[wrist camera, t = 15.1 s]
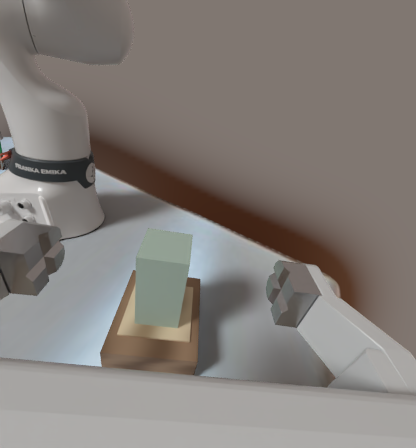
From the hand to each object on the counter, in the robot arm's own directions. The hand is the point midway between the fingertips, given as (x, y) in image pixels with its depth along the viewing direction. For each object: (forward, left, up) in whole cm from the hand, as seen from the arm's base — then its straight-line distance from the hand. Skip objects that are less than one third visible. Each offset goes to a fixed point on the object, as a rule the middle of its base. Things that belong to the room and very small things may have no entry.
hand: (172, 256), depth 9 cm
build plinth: (-1, +12, -23) cm, 26 cm away
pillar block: (-1, +12, -19) cm, 22 cm away
